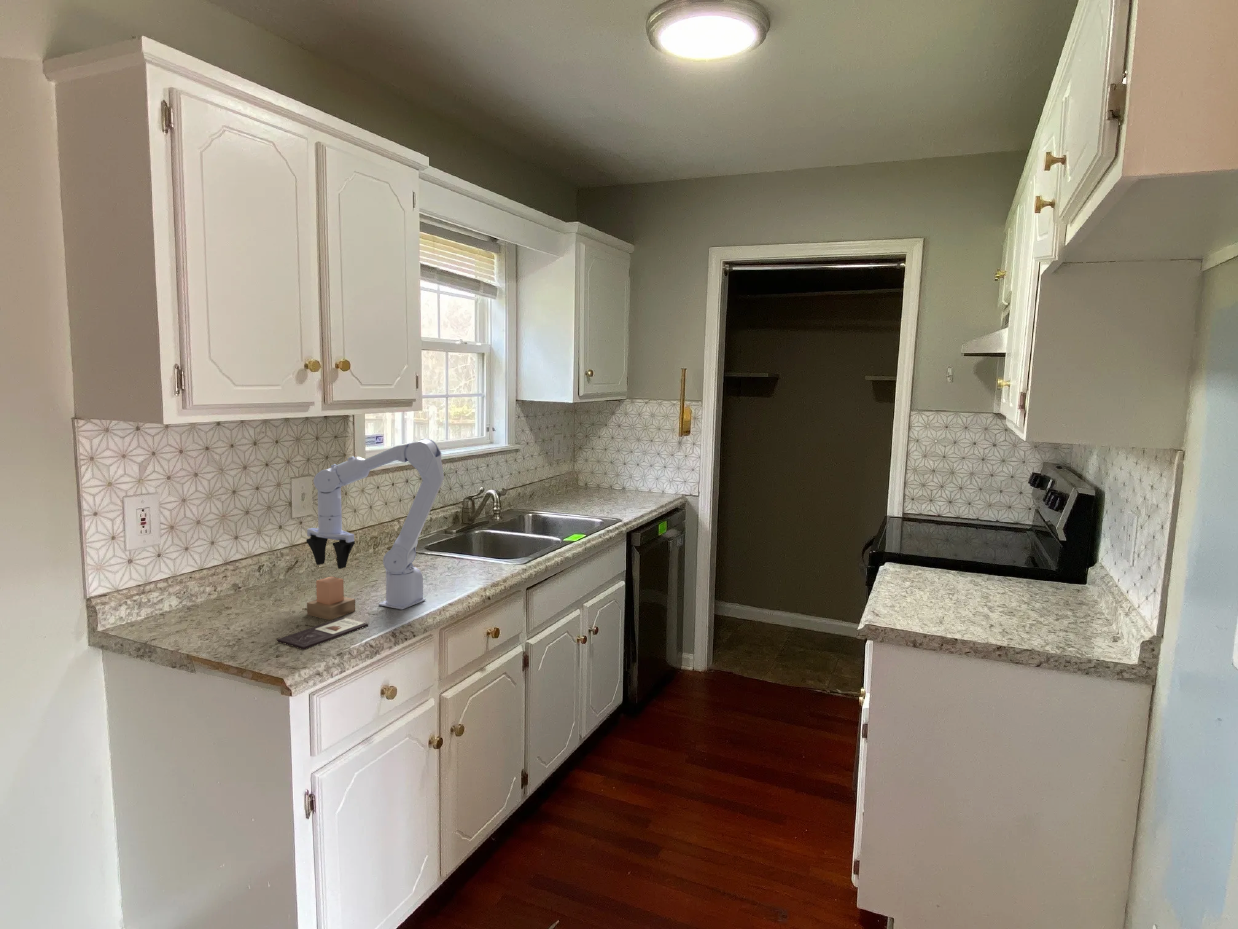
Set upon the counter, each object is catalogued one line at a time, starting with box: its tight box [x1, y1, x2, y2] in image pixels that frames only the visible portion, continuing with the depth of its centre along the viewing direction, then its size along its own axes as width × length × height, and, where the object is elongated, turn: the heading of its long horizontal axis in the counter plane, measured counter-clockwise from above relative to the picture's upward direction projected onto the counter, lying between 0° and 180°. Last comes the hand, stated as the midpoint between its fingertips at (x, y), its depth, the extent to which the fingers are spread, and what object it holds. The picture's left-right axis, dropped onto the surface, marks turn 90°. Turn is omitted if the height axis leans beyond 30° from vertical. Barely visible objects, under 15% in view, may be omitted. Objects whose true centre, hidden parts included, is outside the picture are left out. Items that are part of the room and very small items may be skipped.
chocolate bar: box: [276, 616, 369, 651], centre depth 170 cm, size 9×1×18 cm
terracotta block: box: [315, 576, 345, 605], centre depth 184 cm, size 4×4×6 cm
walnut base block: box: [306, 596, 356, 621], centre depth 185 cm, size 8×8×4 cm
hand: (331, 566), depth 191 cm, fingers open, 7 cm apart
